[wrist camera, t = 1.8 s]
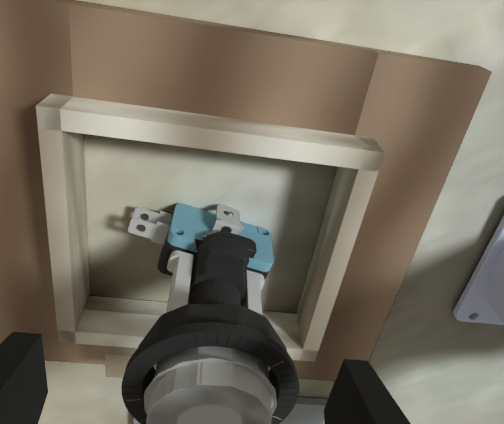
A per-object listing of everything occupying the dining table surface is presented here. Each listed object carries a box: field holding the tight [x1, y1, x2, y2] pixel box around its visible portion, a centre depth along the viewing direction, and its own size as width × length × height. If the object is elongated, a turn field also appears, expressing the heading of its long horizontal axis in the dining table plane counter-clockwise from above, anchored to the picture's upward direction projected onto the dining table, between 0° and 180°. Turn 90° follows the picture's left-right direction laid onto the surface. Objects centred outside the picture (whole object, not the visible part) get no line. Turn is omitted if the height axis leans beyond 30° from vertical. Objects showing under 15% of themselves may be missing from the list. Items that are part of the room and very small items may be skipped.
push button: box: [122, 204, 299, 424], centre depth 16 cm, size 7×5×10 cm
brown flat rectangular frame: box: [0, 0, 492, 381], centre depth 19 cm, size 20×18×3 cm
